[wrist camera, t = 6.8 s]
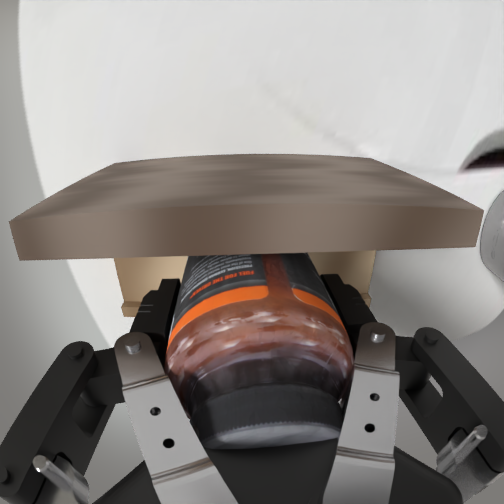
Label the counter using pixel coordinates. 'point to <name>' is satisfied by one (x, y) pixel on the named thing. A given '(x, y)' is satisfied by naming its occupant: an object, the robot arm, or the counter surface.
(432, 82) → the counter surface
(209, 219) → the cleat board
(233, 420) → the supplement bottle
